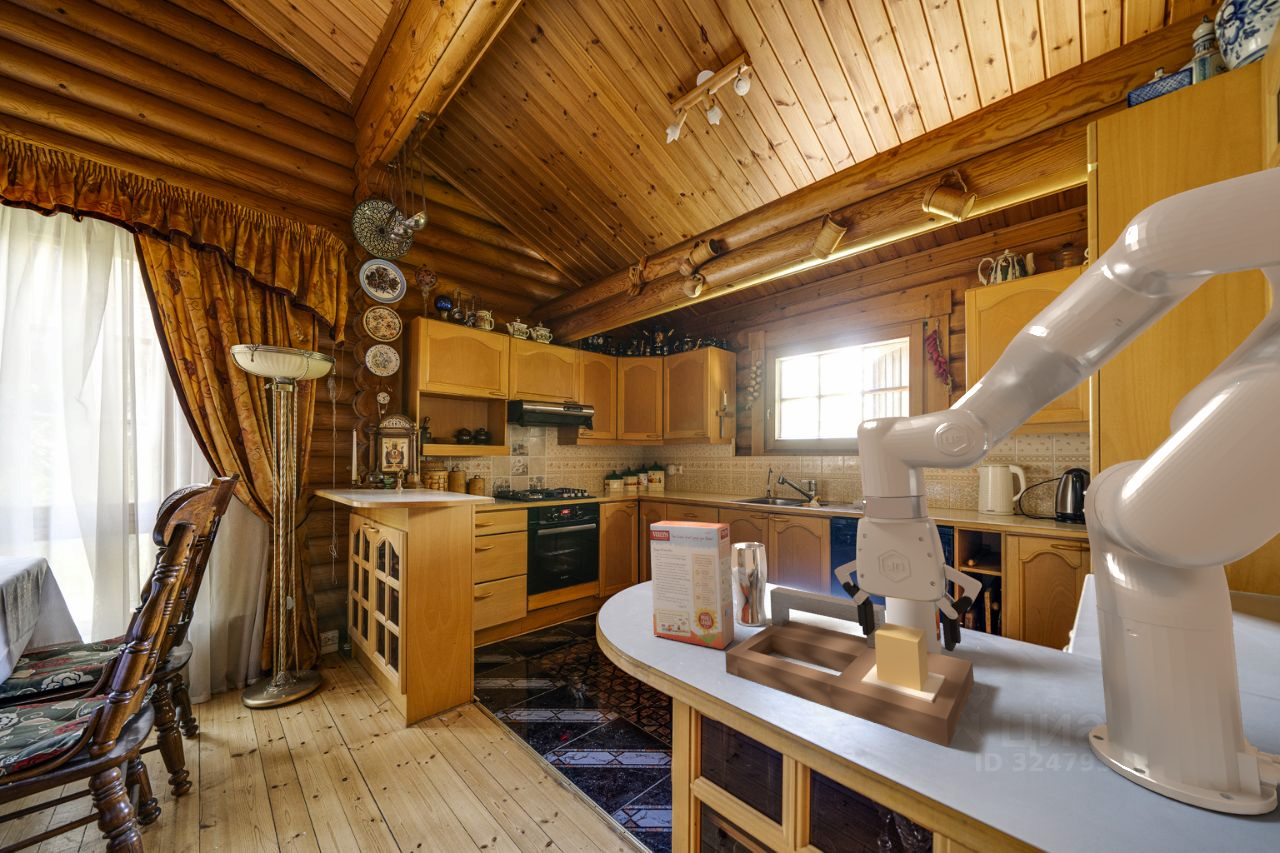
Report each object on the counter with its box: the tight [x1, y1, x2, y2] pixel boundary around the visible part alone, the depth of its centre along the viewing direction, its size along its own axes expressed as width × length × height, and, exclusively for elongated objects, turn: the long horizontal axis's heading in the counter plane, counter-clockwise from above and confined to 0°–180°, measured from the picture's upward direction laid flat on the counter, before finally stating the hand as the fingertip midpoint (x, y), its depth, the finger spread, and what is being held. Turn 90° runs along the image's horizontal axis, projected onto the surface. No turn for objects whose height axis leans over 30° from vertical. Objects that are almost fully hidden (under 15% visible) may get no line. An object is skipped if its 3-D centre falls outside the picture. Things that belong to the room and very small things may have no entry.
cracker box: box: [650, 520, 735, 650], centre depth 87 cm, size 14×6×21 cm, turn 58°
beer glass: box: [731, 541, 768, 627], centre depth 94 cm, size 7×7×15 cm
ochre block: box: [875, 621, 929, 691], centre depth 62 cm, size 5×5×6 cm
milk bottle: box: [884, 597, 942, 655], centre depth 79 cm, size 8×8×20 cm
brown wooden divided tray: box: [725, 620, 975, 748], centre depth 70 cm, size 29×19×3 cm, turn 48°
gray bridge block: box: [769, 586, 886, 648], centre depth 79 cm, size 18×3×6 cm, turn 48°
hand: (908, 639), depth 62 cm, fingers open, 9 cm apart
